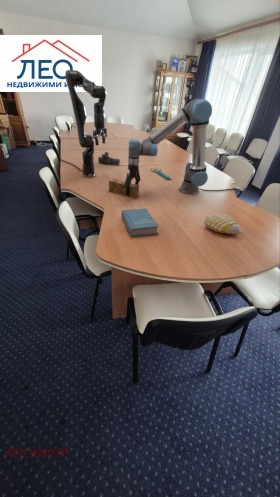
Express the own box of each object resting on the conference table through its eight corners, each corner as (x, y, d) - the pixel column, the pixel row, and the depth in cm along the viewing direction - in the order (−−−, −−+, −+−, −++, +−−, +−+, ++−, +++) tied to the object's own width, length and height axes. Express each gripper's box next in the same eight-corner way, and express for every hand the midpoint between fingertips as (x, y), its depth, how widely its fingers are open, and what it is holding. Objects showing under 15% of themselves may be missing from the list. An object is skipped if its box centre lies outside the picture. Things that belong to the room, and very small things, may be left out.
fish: (254, 225, 128) (232, 232, 118) (249, 236, 132) (228, 244, 123) (221, 208, 144) (199, 213, 134) (217, 218, 149) (196, 224, 139)
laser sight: (117, 166, 227) (117, 156, 221) (96, 163, 230) (96, 153, 224) (120, 163, 234) (120, 154, 229) (100, 161, 237) (99, 151, 231)
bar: (109, 191, 174) (108, 180, 169) (113, 189, 178) (113, 178, 173) (135, 198, 166) (135, 187, 161) (138, 195, 170) (139, 185, 165)
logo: (149, 168, 227) (150, 167, 227) (158, 168, 230) (158, 167, 229) (161, 179, 202) (161, 179, 201) (171, 179, 204) (171, 178, 204)
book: (157, 233, 128) (158, 226, 125) (130, 236, 123) (130, 229, 120) (145, 215, 145) (146, 208, 142) (121, 217, 141) (121, 210, 138)
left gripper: (101, 118, 165) (101, 142, 175) (89, 120, 155) (90, 145, 165) (109, 119, 163) (109, 143, 172) (97, 121, 152) (98, 146, 162)
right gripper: (129, 169, 145) (128, 199, 157) (146, 161, 163) (143, 188, 175) (119, 167, 147) (119, 196, 160) (137, 159, 165) (135, 186, 178)
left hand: (100, 144), depth 169 cm, fingers open, 8 cm apart
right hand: (132, 192), depth 168 cm, fingers open, 13 cm apart
